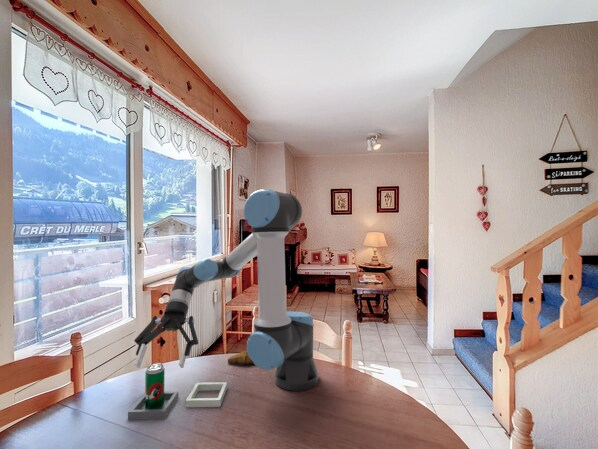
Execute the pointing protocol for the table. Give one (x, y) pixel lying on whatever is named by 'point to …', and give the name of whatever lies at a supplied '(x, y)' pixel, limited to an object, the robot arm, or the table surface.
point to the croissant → (241, 359)
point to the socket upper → (153, 413)
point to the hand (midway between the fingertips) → (158, 366)
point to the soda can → (154, 386)
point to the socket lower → (206, 402)
